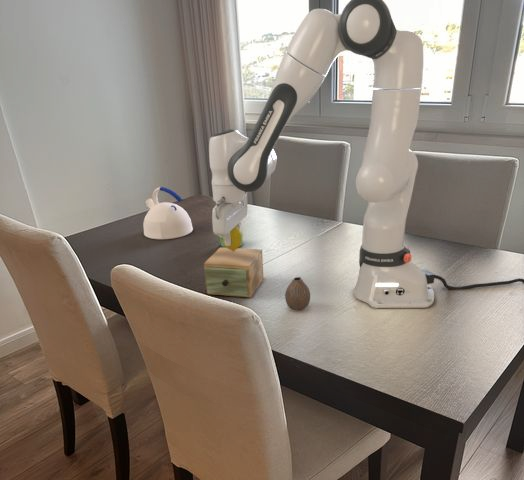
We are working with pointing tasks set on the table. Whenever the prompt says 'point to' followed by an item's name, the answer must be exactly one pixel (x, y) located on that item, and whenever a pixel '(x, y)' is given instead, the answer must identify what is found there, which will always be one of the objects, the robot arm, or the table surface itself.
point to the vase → (297, 295)
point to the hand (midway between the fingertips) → (232, 241)
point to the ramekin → (223, 242)
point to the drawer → (226, 281)
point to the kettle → (166, 218)
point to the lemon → (234, 239)
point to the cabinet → (240, 265)
